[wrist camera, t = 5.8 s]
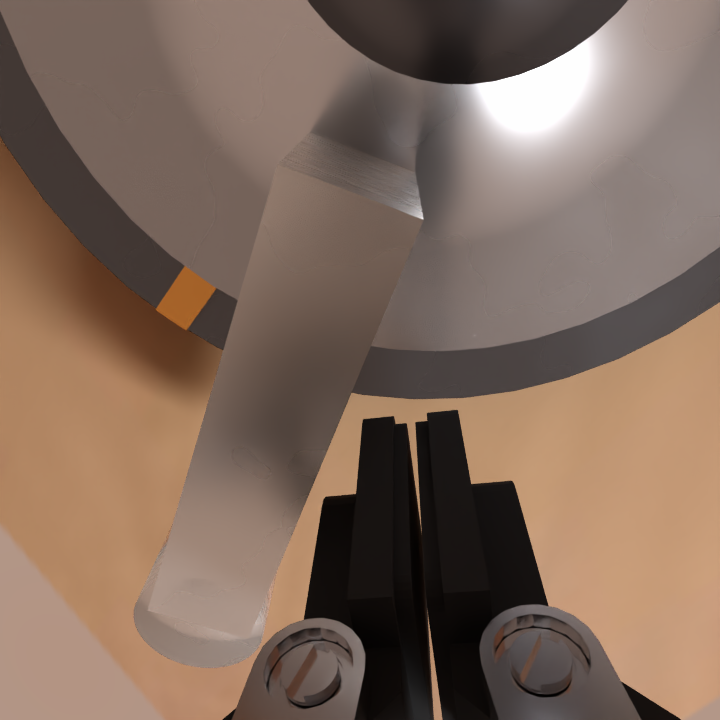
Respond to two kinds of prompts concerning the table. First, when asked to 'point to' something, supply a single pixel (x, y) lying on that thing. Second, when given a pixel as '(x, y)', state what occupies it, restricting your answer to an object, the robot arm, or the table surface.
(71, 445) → the table surface
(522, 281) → the dial
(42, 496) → the table surface
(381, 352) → the stand
